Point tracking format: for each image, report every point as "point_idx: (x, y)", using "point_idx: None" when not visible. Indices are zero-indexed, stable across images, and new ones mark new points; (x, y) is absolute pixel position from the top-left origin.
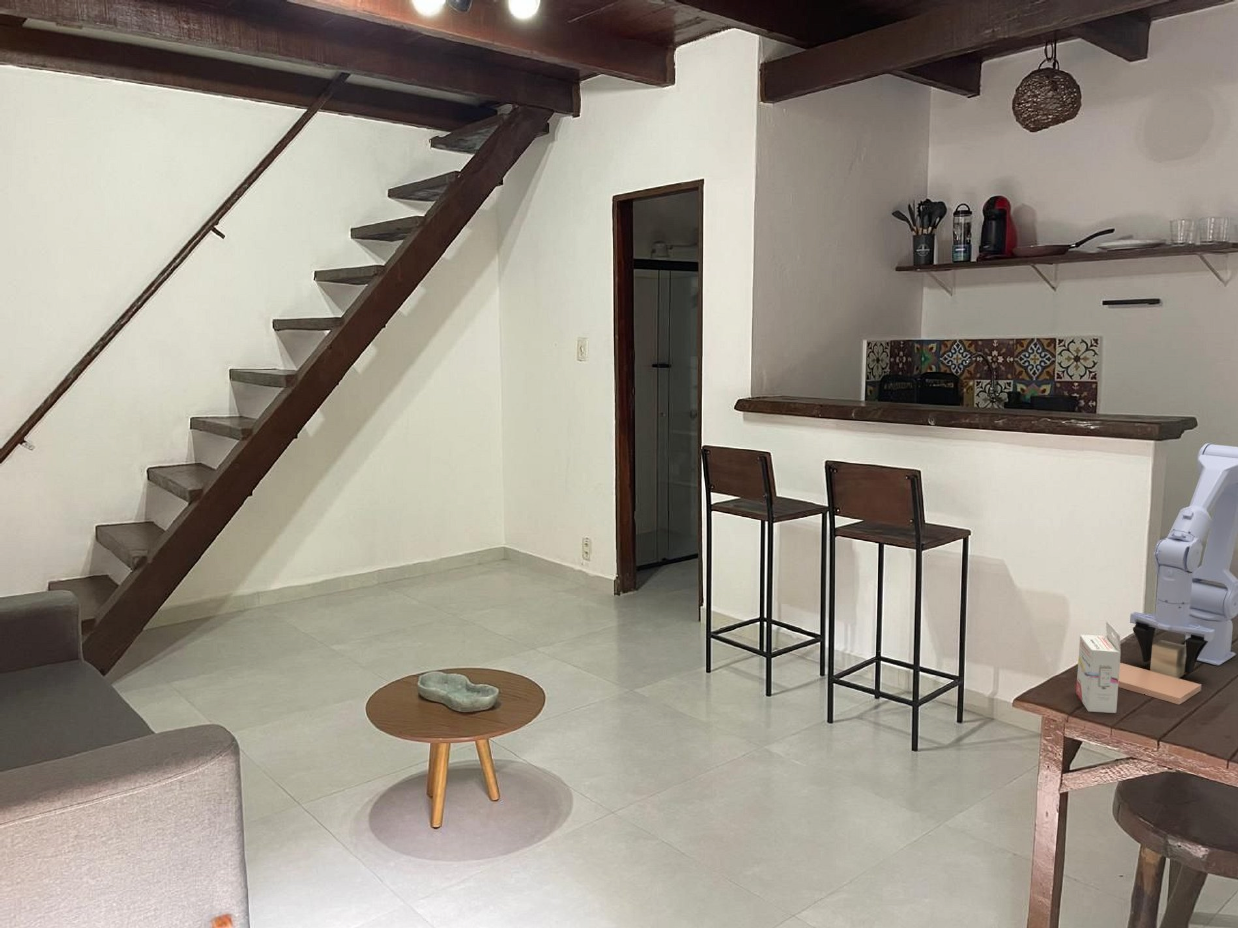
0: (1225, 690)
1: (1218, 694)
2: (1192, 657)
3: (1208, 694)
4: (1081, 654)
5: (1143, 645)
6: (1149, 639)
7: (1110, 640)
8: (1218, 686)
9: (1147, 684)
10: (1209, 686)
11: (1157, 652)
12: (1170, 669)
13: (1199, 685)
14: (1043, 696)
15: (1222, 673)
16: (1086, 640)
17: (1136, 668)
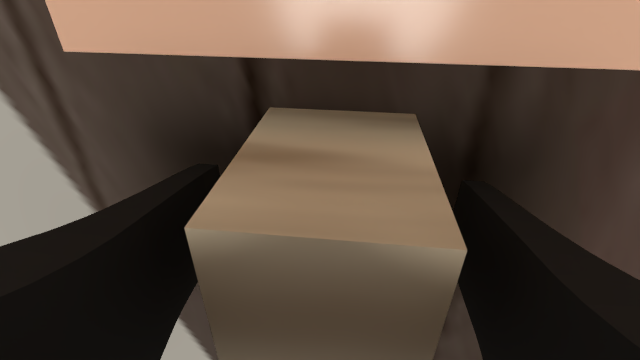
0: (56, 148)
1: (20, 61)
2: (85, 219)
3: (35, 12)
4: None
5: (553, 251)
6: (523, 357)
7: None
8: (106, 177)
9: None
10: (122, 148)
11: (390, 197)
12: (285, 134)
13: (57, 22)
14: None
15: (194, 315)
16: None
17: (508, 29)
